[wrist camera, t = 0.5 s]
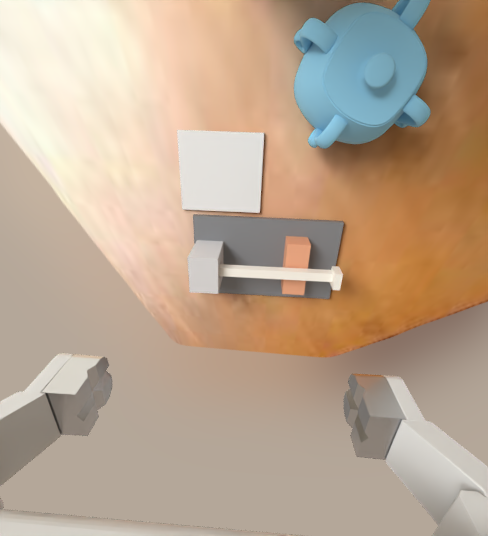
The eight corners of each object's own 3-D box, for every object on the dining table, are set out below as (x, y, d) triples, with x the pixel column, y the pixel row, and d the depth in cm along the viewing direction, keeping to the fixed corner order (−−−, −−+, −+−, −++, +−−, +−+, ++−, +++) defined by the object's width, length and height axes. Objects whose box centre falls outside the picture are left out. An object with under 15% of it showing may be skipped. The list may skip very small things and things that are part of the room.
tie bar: (200, 259, 52) (197, 267, 49) (338, 266, 51) (343, 274, 48) (201, 274, 53) (198, 282, 51) (335, 281, 52) (339, 290, 50)
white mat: (178, 129, 48) (177, 130, 47) (264, 132, 47) (264, 133, 47) (183, 208, 54) (182, 209, 53) (259, 211, 53) (259, 212, 53)
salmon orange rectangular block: (285, 236, 54) (287, 244, 50) (307, 237, 54) (311, 245, 50) (281, 283, 58) (282, 293, 55) (301, 284, 58) (303, 295, 55)
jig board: (194, 214, 54) (182, 230, 46) (342, 221, 53) (356, 238, 45) (197, 289, 61) (188, 313, 53) (328, 296, 60) (338, 322, 52)
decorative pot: (294, 148, 48) (305, 159, 36) (289, 26, 41) (300, -12, 29) (398, 135, 47) (446, 142, 34) (411, 5, 39) (478, -45, 27)
